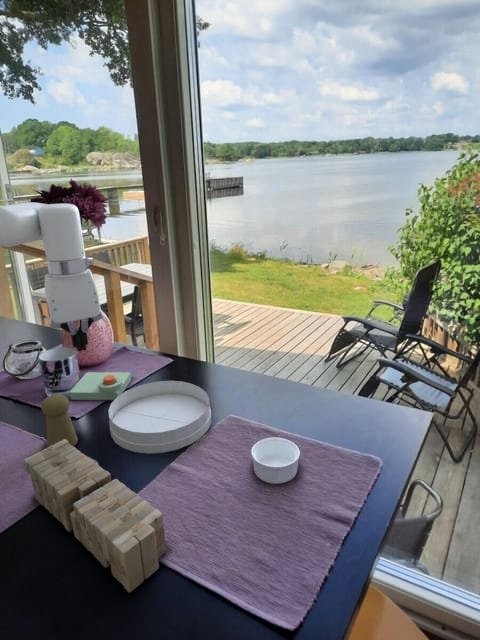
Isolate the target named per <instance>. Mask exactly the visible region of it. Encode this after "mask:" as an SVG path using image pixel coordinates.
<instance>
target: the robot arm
mask: <svg viewBox="0 0 480 640" xmlns="http://www.w3.org/2000/svg"><path fill="white" fill-rule="evenodd" d="M38 240H42V243H43V249H44V253H45V254H44V255H45V259H46V267H47V271H48V273H46V274H45V275H44V295H45V304H46V311H47V313H48V318H49V324H48V325H49V327H50V329H55V330H57V329H58V330H61V329H62V330H64V331H65V332H68V333H69V334H70V338H71V345H72V347H73V348H75V349H76V351H78V352H82V351H87V346H88V345H89V340H88V334H87V332H88V331H89V328H90V327H91V326H92V325H93V323H95V322H99V321H100V320H102V319H103V314H102V312H101V309H102V308H101V302H100V298H99V293H98V289H97V285H96V281H95V278H94V275H93V273H92V270H91V269H90V268H89V266H91V265H94V264H95V261H94V257H88V256H87V255H86V250H85V244H84V235H83V228H82V221H81V215H80V211H79V208H78V207H77V206H76V205H75V204H73V203H50V204H48V203H42V202H34V201H33V202H24V203H23V202H22V203H15V204H7V205H0V246H1V247H7V248H10V247H15V246H20V245H24V244H26V243H27V244H28V243H31V242H35V241H38ZM75 321H78V328H77V329H76V326H75V323H74V322H75Z"/></svg>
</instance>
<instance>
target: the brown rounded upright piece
mask: <svg viewBox="0 0 480 640" xmlns="http://www.w3.org/2000/svg"><path fill="white" fill-rule="evenodd" d="M40 409H41V411H42V413H43V415H44V416H45V422H46V423H45V425H46V446H47V447H46V448H48V447H50V446H52V445H54V444H56V443H58V442H60V441H62V440H64V439H66V440H67V441H68V442H69V444H70V445H71V446H73V447H75V446H76V445H77V443H78V440H79V438H78V436H77V432H76V430H75V427H74V424H73V422H72V419H71V416H70V413H69V409H70V400H69V398H68V397H67V396H66V395H65V394H59V393H58V394H52V395H49V396H47V397H46V398H44V399H43V400H42V402H41V406H40Z"/></svg>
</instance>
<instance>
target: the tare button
mask: <svg viewBox="0 0 480 640" xmlns="http://www.w3.org/2000/svg"><path fill="white" fill-rule="evenodd" d="M103 380H104V385H113V384H115V383H116V380H115V376H114V375H108V376H105V377H104V378H103Z"/></svg>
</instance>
